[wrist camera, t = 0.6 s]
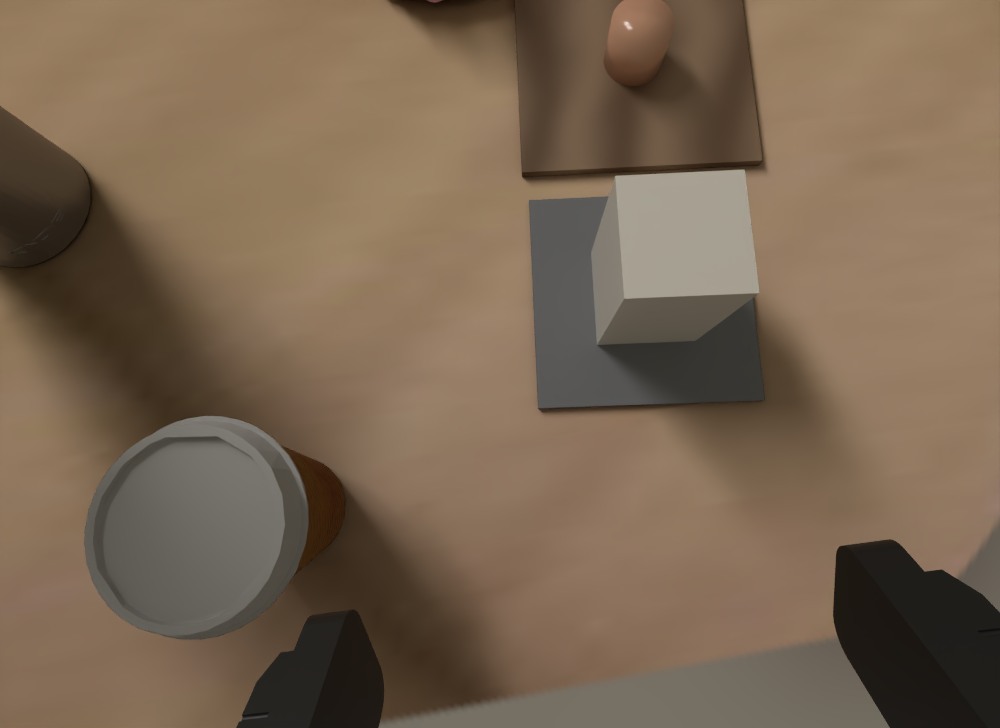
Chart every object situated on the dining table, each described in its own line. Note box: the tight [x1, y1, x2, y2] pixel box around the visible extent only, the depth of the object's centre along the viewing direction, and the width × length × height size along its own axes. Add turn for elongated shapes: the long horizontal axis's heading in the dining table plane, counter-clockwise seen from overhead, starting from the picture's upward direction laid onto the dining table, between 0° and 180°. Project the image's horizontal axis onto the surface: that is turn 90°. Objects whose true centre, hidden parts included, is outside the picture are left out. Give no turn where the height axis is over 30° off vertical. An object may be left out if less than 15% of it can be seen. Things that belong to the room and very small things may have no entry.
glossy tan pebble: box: [604, 0, 675, 86], centre depth 38 cm, size 4×4×4 cm
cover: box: [591, 170, 759, 345], centre depth 32 cm, size 6×6×10 cm
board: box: [515, 0, 762, 177], centre depth 40 cm, size 16×16×1 cm
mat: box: [529, 197, 765, 409], centre depth 37 cm, size 14×14×1 cm
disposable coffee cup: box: [84, 416, 345, 639], centre depth 30 cm, size 10×10×12 cm
